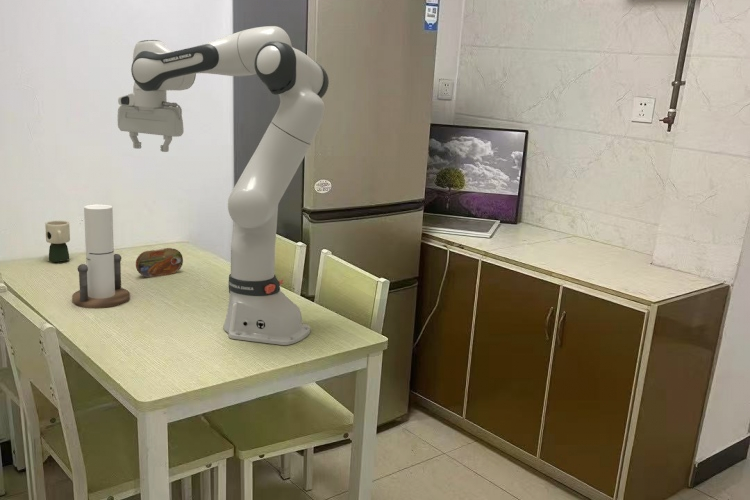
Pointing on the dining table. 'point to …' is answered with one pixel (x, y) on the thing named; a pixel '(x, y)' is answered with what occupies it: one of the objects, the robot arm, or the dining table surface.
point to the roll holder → (118, 299)
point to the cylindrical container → (99, 250)
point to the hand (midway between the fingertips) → (150, 150)
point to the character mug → (58, 240)
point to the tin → (159, 262)
